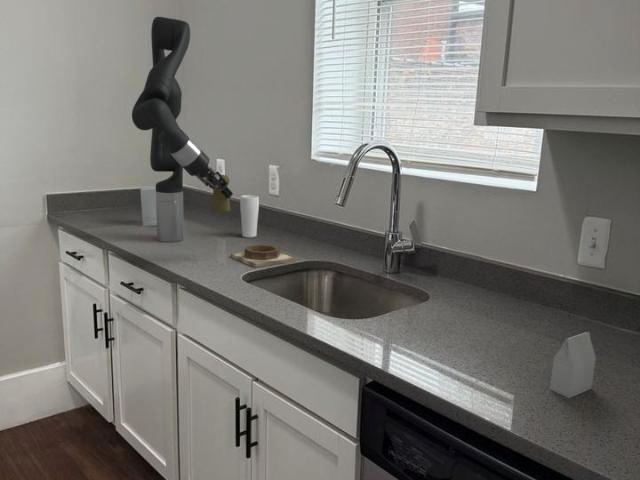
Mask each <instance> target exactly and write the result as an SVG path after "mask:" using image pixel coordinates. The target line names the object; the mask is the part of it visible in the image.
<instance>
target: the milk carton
mask: <svg viewBox="0 0 640 480" xmlns="http://www.w3.org/2000/svg"><path fill="white" fill-rule="evenodd" d="M590 333H591V332H590V331H585V332H582V333H579V334H576V335H574V336H570V337H567V338H565V339H564V341H563V344H562V345H561V347H560V349H559V350H558V351H557V353H556V354H555V356H554V358H553V363H552V371H551V377H550V385H549V390H550V391H552V392H555V393H557V394H559V395H561V396H562V397H563V396H564V397H566V398H567V399H570V398H573V397H575V396H577V395H579V394H581V393H584V392H587V391H590V390H591V389H592V385H593V379H594V373H595V366H596V358H597V357H596V354H595V349H594V346H593V343H592V340H591V334H590Z"/></svg>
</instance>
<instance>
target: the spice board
mask: <svg viewBox="0 0 640 480" xmlns="http://www.w3.org/2000/svg"><path fill="white" fill-rule="evenodd" d="M230 257H231V258H232V259H234V260H237V261H240V262H241V263H244V264H246V265H248V266H251V267H253V268H255V269H256V268H263V267H270V266H276V265H282V264H288V263H294V262H295V257H292V256H290V255H287V254H285V253H282V252H281V248H280V247H278V246H276V245H272V244H254V245H252V244H251V245H248V246H246V247H245V248H244V251H239V252H231V253H230Z"/></svg>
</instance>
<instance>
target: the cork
mask: <svg viewBox="0 0 640 480" xmlns="http://www.w3.org/2000/svg"><path fill="white" fill-rule="evenodd" d="M220 175H221V176H222V177H223V178H224V180H225V181H226V182H227V184H228V185H227V187H228V186H229V184H230V177H229V176H228V175H225V174H220ZM212 183H214V181H213V182H212ZM221 184H222V183H221ZM228 188H229V187H228ZM212 191H213V192H212V197H211V198H212V199H211V205H210V206H211V208H210V211H211V212H215V213H227V212H228V213H229V212H231V204H230V203H231V202H230V198H227V197H226V196H225V195H224V194H223V193H222V192H221V191H220V190H219V189H218V188H217V187H216V186H214V190H213V189H212Z"/></svg>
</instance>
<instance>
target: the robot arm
mask: <svg viewBox="0 0 640 480" xmlns="http://www.w3.org/2000/svg"><path fill="white" fill-rule="evenodd" d="M190 28H191V27H190V24H189V23H188V22H187V21H185V20H180V19H175V18H169V17H163V16H156V17H154V18H153V21H152V23H151V30H150V31H151V33H150V35H151V36H150V37H151V57H152V68H151V69H150V70H149V71H148V74H147V78H146V82H145V84H144V88H143V90H142V92H141V93H140V95H139V96H138V98H137V100H136V102H135V104H134V106H133V108H132V110H131V120H132V123H133V125H134V126H135V127H136V128H137V129H139V130H141V131H149V130H151V138H150V139H151V141H150V154H149V155H150V157H149V163H150V167H151V170H152V171H153V172H161V173H162V172H163V173H166V172H169V173H172V174H171V175H170V176H169V177H167V178H166V179H163V180H160V181H158V182H156V183H155V187H156V220H157V226H156V240H157V241H158V242H162V243H163V242H165V243H175V242H181V241H183V240H184V237H185V235H184V229H185V228H184V227H185V224H184V177H183V176H184V175H183V174H184V171H185V172H187V174H189V175H190V176H192V177H196V178H197V179H198V180H199V181H200V182H202V183H203V185H205V186H206V187H209V189H211V190H212V191H213V190H214V186H216V187H217V188H218V189H219V190H220V191H221V192H222V193H223V194H224V195H225V196H226V197H227V198H229V199H230V198H231V197H232V196H233V192H232V191H231V189H230V188H229V187H227V185H228V186H229V184H227V182H226V181H225V180H224V178H223V177H222V176H221V175H222V174H221V173H220V172H219V171H215V169H213V168H212V167H209V163H210V157H209V156H208V155H207V154H206V153H205V152H204V151H203V150H202V149H201V148H200V147H199V145H198V144H196V142H195V141H194V140H193V139H191V138H190V137H189V136H188V135H187V134H186V133H185V132H184V131H183V129H181V127H180V126H179V124H178V122H177V119H178V117H179V116H180V114H181V111H182V94H183V93H182V92H183V91H182V89H181V86H180V84H179V82H178V81H177V79H176V77H175V76H176V74H177V72H178V70H179V68H180V66H181V64H182V62H183V59H184V58H185V55H186V53H187V51H188V48H189V45H190V41H191V40H190V39H191V29H190ZM165 50H166V51H170V53H169V54H167V56H166V54H165ZM213 181H214V183H212V182H213ZM221 183H222V184H221Z"/></svg>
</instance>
